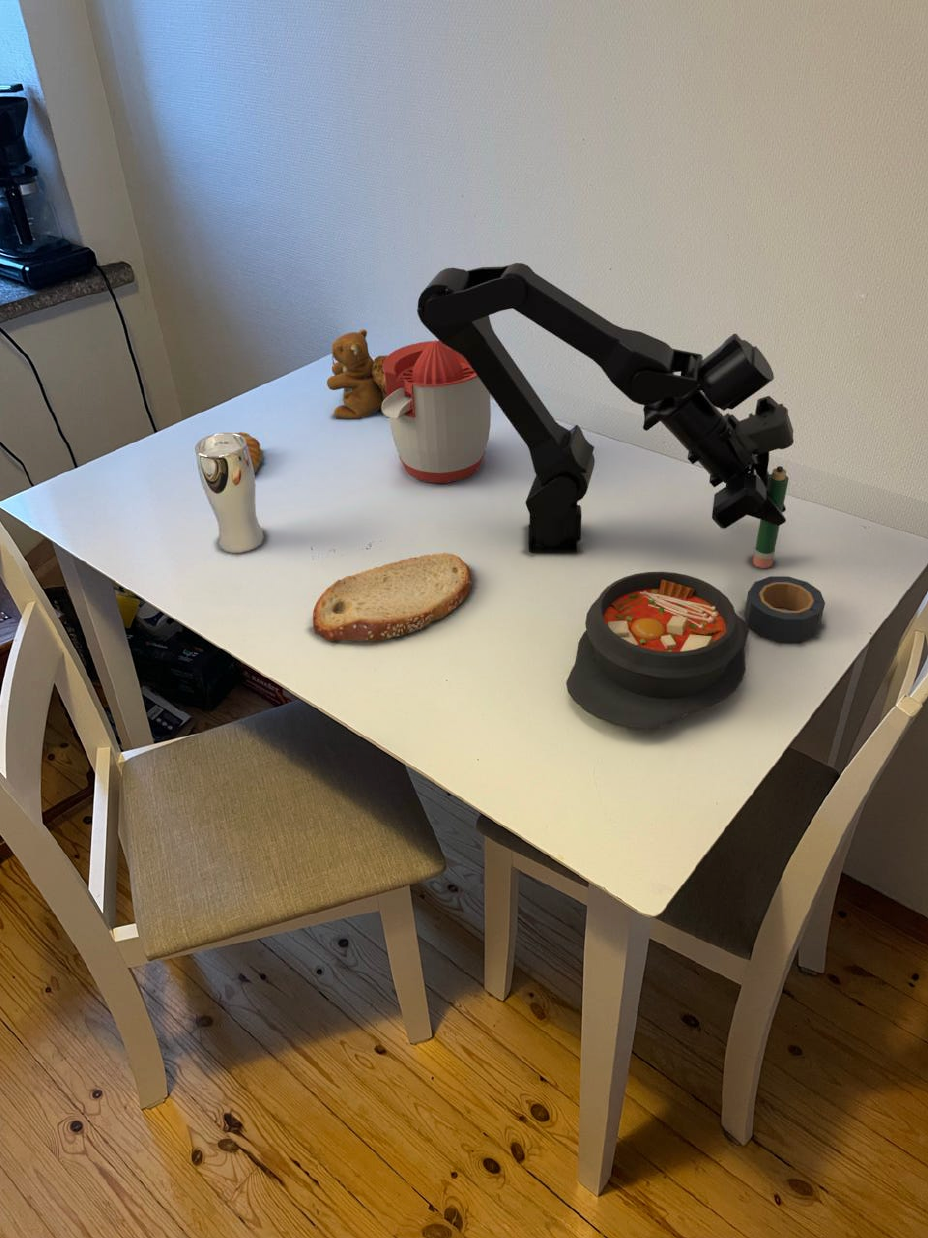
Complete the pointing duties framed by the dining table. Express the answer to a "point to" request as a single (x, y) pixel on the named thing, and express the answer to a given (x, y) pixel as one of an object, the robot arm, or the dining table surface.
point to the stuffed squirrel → (357, 376)
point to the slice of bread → (392, 598)
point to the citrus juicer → (436, 411)
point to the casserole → (657, 651)
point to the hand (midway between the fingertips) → (782, 517)
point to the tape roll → (782, 622)
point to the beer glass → (230, 489)
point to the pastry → (253, 450)
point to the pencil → (768, 530)
